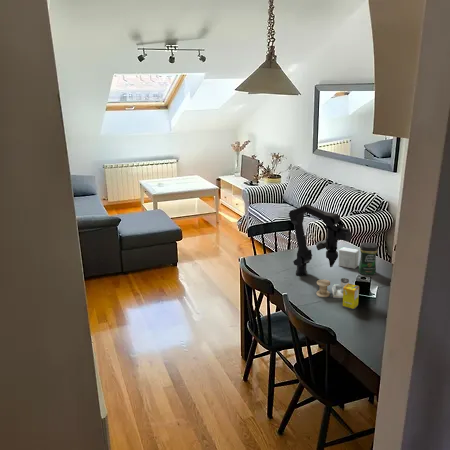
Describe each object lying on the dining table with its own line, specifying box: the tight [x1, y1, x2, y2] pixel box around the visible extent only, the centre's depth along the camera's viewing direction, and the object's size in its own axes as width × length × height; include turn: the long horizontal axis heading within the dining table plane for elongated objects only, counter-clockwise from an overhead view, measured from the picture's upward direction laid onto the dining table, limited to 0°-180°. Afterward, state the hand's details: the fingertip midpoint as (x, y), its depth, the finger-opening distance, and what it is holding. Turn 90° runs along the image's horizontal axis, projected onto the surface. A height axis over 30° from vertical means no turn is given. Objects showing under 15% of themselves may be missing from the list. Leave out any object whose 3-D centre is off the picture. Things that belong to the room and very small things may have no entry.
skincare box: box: [338, 246, 360, 270], centre depth 261 cm, size 10×6×10 cm, turn 56°
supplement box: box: [342, 282, 360, 311], centre depth 212 cm, size 6×6×11 cm
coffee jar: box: [358, 242, 378, 276], centre depth 249 cm, size 10×8×19 cm
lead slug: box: [340, 277, 350, 293], centre depth 226 cm, size 4×4×7 cm
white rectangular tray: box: [331, 283, 343, 299], centre depth 227 cm, size 10×12×3 cm
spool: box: [316, 278, 331, 298], centre depth 227 cm, size 7×7×7 cm
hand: (330, 263), depth 236 cm, fingers open, 9 cm apart
